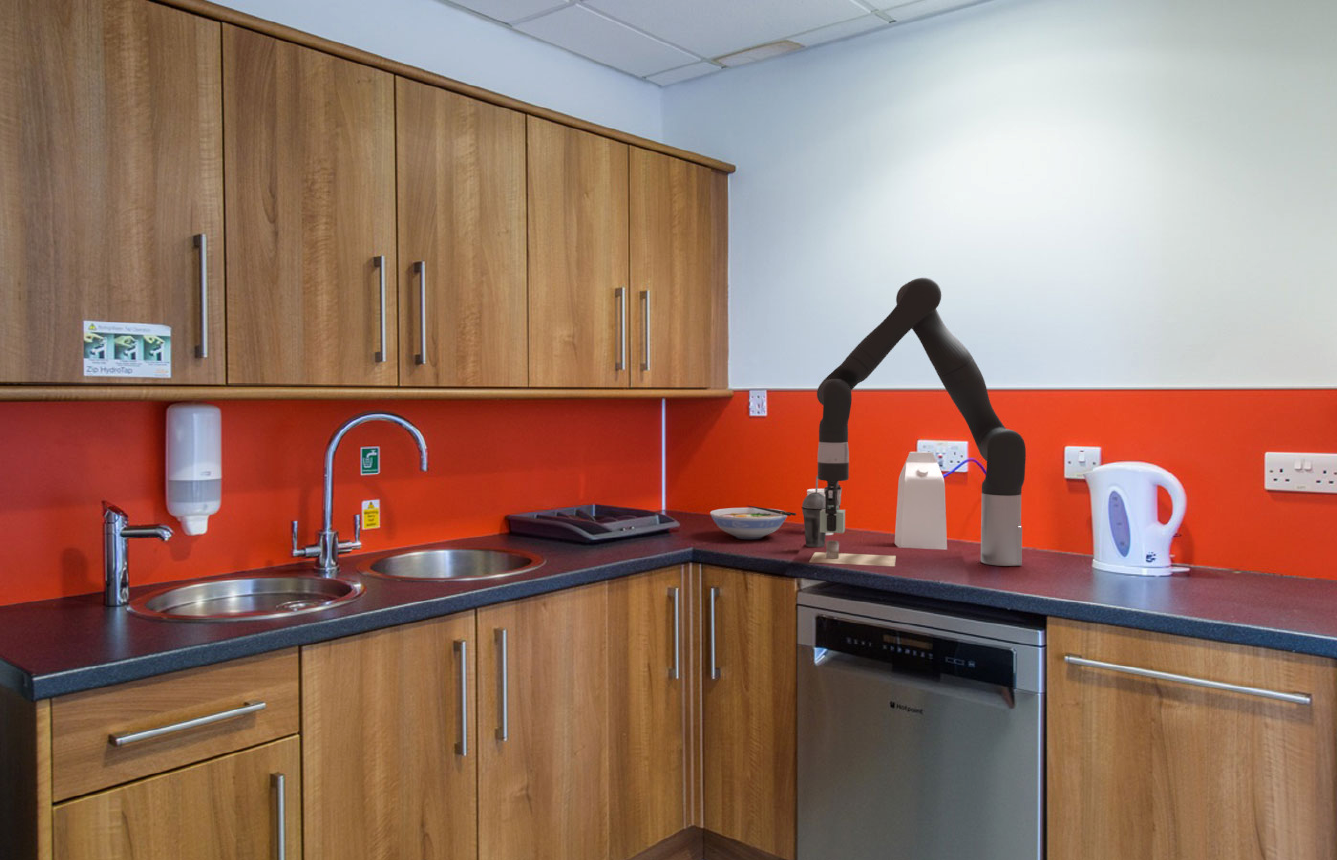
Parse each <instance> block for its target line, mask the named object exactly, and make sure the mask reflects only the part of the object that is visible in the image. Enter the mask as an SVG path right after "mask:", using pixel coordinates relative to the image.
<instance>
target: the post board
mask: <svg viewBox="0 0 1337 860" xmlns="http://www.w3.org/2000/svg"><path fill="white" fill-rule="evenodd" d="M825 547H826V549H825V550H826V552H822V551H821V552H820V551H818V552H817V551H815V552H814V553H813V555H812V557H811V558H810V559H809V562H808V563H814V564H817V563H818V564H837V565H853V566H854V565H857V566H859V565H860V566H876V567H877V566H879V567H896V558H897V555H884V554H883V555H882V554H881V555H880V554H864V553H863V554H862V553H861V554H860V553H859V554H858V553H842V552H841V553H839V552H840V551H839V550H840V542H839V541H837V540H827V541H825Z"/></svg>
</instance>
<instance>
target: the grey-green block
mask: <svg viewBox="0 0 1337 860" xmlns="http://www.w3.org/2000/svg"><path fill="white" fill-rule="evenodd" d="M825 510H826V509H822V510H821V511H820V532H825V533H833V534H844V532H845V531H846V509H840V510H837V516H836V531H827V516H826V512H825Z"/></svg>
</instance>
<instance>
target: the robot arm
mask: <svg viewBox="0 0 1337 860" xmlns="http://www.w3.org/2000/svg"><path fill="white" fill-rule="evenodd" d="M895 298H896V299H895V302H896V305H895V307H894V308H893V309H892V310H891V312H890V313H889V314H888V315H887V316H886V317H885V319H883V321H882V322H881V323H880V324H878V325H877V326H876V327H875V328H874V329H873V330H872V331H870V332H869V333H868V334H867V335H866V336H865V337H864V338H863V339H862V340H861V342H859V343H858V344H857V345H856V346H855V348H853V350H852V351H851V352H850V353H849V354H848V356H846V358H845V359H844V360H843V362H842V363H840V364H839V366H838V367H836V368H835V369H834V370H833V371H832V372H831V373H829V374H828V375H827V377H825V378H824V379H823V380H822V381H821V383H820V384H819V386H818V388H817V390H816V398H817V400H818V402H819V403H820V404H821V405H822V406H823V407H822V418H821V419H820V422H819V425H818V426H819V427H818V428H819V429H818V449H817V476H818V481H823V482H824V481H826V486H825V487H824V488H823V489H824V494H825V506H826V510H825V512H826V516H827V531H836V516H837V510H841V509H840V508H841V504H842V503H841V501H842V490H843V488H842V486H841V485H840V482H845V481H848V480H849V477H850V476H849V475H850V474H849V473H850V470H849V469H850V451H849V450H850V449H849V443H848V442H849V419H850V415H851V409H852V401H853V400H852V390H853V389H855V387H856V386H857V385H859V384H860V383H861V382H862V383H863V382H864V381H865V380H867V379H868V377H870V375H871V374H872V373H873V372H874V371H875V370H876V369H877V367H878V366H879V365H880V364H881V363H882V362H883V360H884V359H885V358H886V357H887V356H888V355H889V353H891V351H892V350H893V349H894V347H895V346H896V345H897V344H898V343H899V342H900V341H901V340H902V338H904V337H905V336H906V334H908V333H909V332H910V331H911V330H912V331H913V333H914V334H915V335H916V337H917V338H918V340H919V342H920V343H921V345H922V348H923V350H924V351H925V353H926V355H927V357H928V359H929V361H930V362H931V363H930V364H931V365H932V366H933V368H934V370H935V372H936V374H937V376H938V377H939V380H940V381H941V383H942V385H943V386H944V389H945V390H946V392H947V393H948V395H949V396H950V398H951V400H952V402H953V404H954V405H955V406H956V408H957V409H958V411H959V412H960V415H961V416H962V417H963V419H964V420H965V422H966V424H967V426H968V428H969V431H970V433H971V436H972V438H973V440H974V443H975V445H976V447H977V449H978V452H979V453H980V456H981V457H982V459H984V461H986V472H985V477H984V479H983V481H982V482H981V508H980V509H981V510H980V511H981V513H980V514H981V515H980V517H981V521H980V522H981V523H980V562H981V563H983V564H985V565H990V566H1003V567H1008V566H1009V567H1014V566H1022V563H1023V562H1022V561H1023V559H1022V558H1023V557H1022V556H1023V555H1022V554H1023V551H1022V550H1023V526H1022V491H1023V490H1022V488H1023V485H1024V482H1025V477H1026V475H1025V474H1026V457H1027V454H1026V453H1027V452H1026V451H1027V449H1026V443H1025V440H1024V438H1023V436H1021V434H1020V433H1019V432H1017V431H1016V430H1012V429H1009V428H1006V426H1005V425H1004V424H1003V423H1002V421H1001V419H1000V418H999V417H998V415H997V413H996V412H995V410H994V408H993V406H992V403H991V401H990V397H989V393H988V388H987V385H986V381H985V379H984V377H983V373H982V372H981V370H980V368H979V367H978V364H977V362H976V361H975V359H974V358H973V356H972V354H971V352H970V351H969V350H968V348H966V346H965V345H964V344H963V343H962V342H961V341H960V340H959V339H958V338H957V337H956V336H955V335H954V334H953V333H952V332H951V331H950V330H949V328H947V326H946V325H945V323H944V322H943V320H942V318H941V316H940V314H939V311H938V310H937V308H938V307H939V305H940V303H941V300H942V290H941V286H939V284H938V283H937V282H936V280H933V279H931V278H929V277H918V278H915V279H913V280H910V281H908V282H907V283H904V285H902V286H901V287H900V288H899V289H898V290H897V293H896V297H895Z"/></svg>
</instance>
